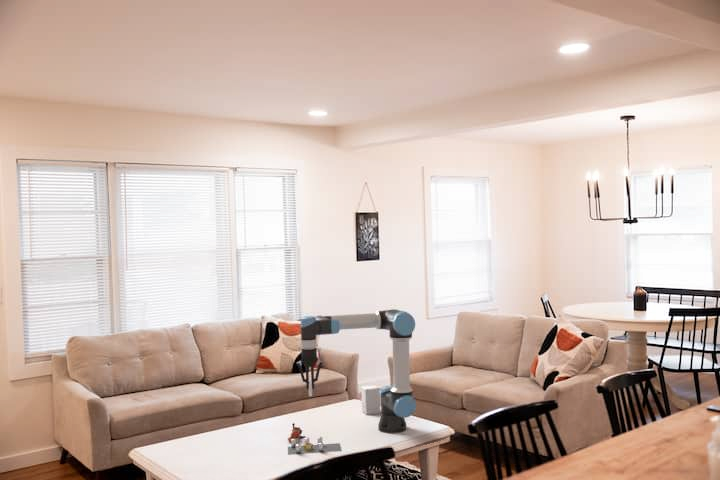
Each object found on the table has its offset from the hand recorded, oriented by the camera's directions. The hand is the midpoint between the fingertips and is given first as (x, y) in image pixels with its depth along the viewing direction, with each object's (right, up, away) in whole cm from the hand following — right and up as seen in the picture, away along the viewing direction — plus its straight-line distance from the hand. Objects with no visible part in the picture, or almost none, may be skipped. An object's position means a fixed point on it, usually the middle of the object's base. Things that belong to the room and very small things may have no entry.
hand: (310, 395), depth 327 cm
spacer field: (-1, -26, -2) cm, 26 cm away
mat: (+2, -26, -2) cm, 27 cm away
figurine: (-8, -27, +16) cm, 32 cm away
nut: (-1, -26, -2) cm, 26 cm away
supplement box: (+31, -25, +63) cm, 75 cm away
